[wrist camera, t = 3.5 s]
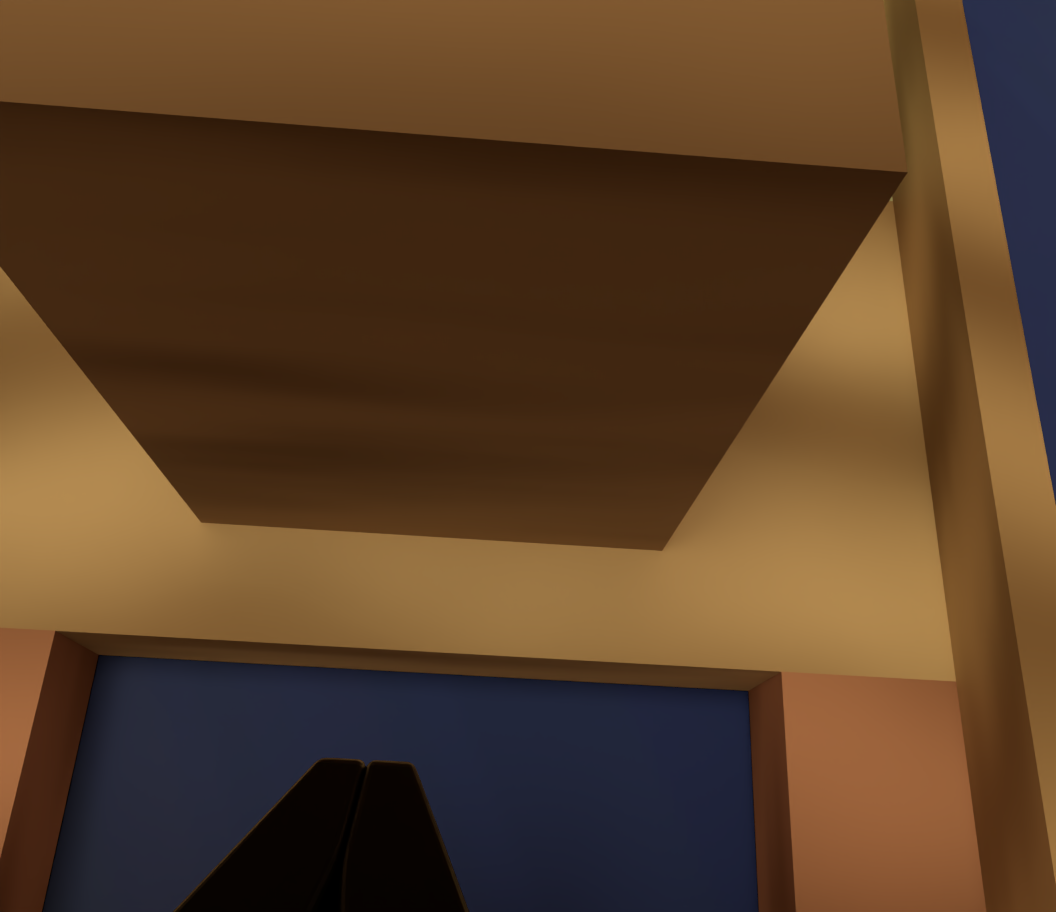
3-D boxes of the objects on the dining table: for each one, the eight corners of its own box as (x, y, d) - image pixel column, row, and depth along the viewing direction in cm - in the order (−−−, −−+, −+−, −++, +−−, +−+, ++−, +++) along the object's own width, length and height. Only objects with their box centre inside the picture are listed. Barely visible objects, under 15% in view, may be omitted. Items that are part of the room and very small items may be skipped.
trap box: (1085, 1682, 13) (1335, 2012, 9) (-448, 1662, 12) (-852, 2018, 8) (810, -418, 33) (854, -579, 29) (227, -478, 32) (196, -651, 28)
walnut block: (662, 550, 17) (908, 171, 7) (200, 522, 16) (-139, 90, 7) (657, 183, 20) (825, -403, 11) (271, 153, 19) (98, -478, 10)
